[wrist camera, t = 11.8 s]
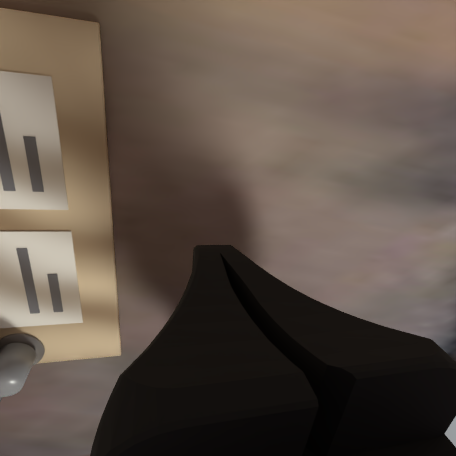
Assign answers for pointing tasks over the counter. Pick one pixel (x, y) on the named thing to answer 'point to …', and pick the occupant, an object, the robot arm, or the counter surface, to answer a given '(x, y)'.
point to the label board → (55, 191)
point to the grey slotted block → (15, 367)
